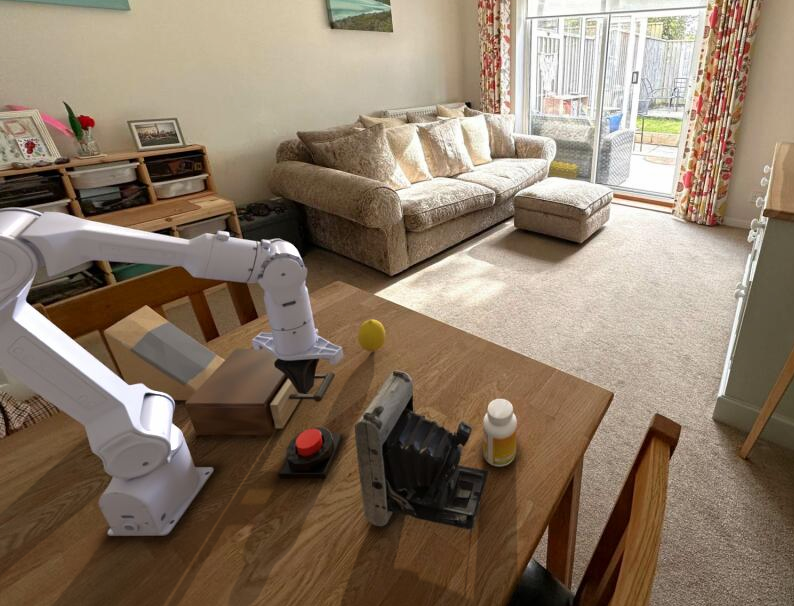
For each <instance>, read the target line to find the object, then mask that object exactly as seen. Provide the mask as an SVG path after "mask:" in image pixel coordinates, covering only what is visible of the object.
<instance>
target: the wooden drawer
mask: <svg viewBox="0 0 794 606" xmlns="http://www.w3.org/2000/svg"><path fill="white" fill-rule="evenodd" d="M335 376H336V375H335V372H333V371H328V372H327V373H315V377H314V380H315V379H317V380H318V379H319V380H320V379H322V382H321V384H320V385H319V387H318V389H317V391H316V393H315V394H312V393H309V394H308V393H307V394H301V393H298V391H297V390H296V388H295V387H294V385H293V384H292V382H291V381H290V380H289V378H288V377H287V376H285V378H284V379H283V381H282V382H281V384H280V385H279V387H278V388H277V389H276V391H275V392H274V394H273V395H272V397H271V398H270V399H269V401H268V402H267V406H268V410H269V414H270V418H271V421H272V419H274V423H275V427H276V429H284V427H285V426H286V424H287V422H288V421H289V419H290V417H291V415H292V414H293V412H294V411H295V409H296V407H297V406H298V404H299V402H300V401H301V400H314V401H315V402H317V403H319V402H322V401H323V398H324V397H325V395H326V393H327V391H328V390H329V388H330V385H331V383H332V382H333V380H334V379H335Z"/></svg>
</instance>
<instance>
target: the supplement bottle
mask: <svg viewBox="0 0 794 606" xmlns="http://www.w3.org/2000/svg"><path fill="white" fill-rule="evenodd" d="M517 427H518V421H517V416H516V415H515V414H514V407H513V405H512V403H511V402H510V401H509V400H508V399H505V398H496V399H493V400H492V401H490V402H489V403H488V406H487V412H486V413H485V415H484V417H483V420H482V451H483V452H482V454H483V457H484V459H485V461H486V462H487V463H488V464H490V466H494V467H498V468H499V467H505V466H508V465H510V464H511V463H512V462H513V461H514V460H515V457H516V454H517V433H518V432H517V431H518V428H517Z"/></svg>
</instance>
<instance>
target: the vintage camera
mask: <svg viewBox="0 0 794 606" xmlns="http://www.w3.org/2000/svg"><path fill="white" fill-rule="evenodd" d="M472 430H473V427H472V426H471V425H469V424H468V423H466V422H464V421H461V422H460V423H459V424H458V426H457V431H454V432H451V431H450V430H449V429H446V428H445V427H444V426H440V424H438V422H437V421H436V420H429V419H427V418H426V415H425V414H423V415H422V414H420V413H416V412H415V411H414V382H413V379H412V377H411V376H410V375H409V374H408V373H407V372H405V371H401V370H397V369H394V370H393V371H392V372H390V373H389V375H388V377H387V378H386V379H385V381H384V382H383V383H382V385H381V386H380V388H379V389H378V391H377V392H376V394H375V395H374V396H373V398H372V399H371V401H370V402H369V404H368V405H367V407H366V408H365V410H364V411H363V413H362V414H361V415H360V417H359V418H358V420H357V422H356V423H355V425H354V437H355V448H356V458H357V464H358V465H357V466H358V473H359V475H358V476H359V482H360V483H359V484H360V491H361V499H362V506H363V507H362V508H363V514H364V517H365V518H366V520H367V521H368V522H369V523H371V524H372V525H374V526H375V527H376V526H377V527H384V526H386V525H387V524H388V523H389V520H390V519H391V516H392V515H393V513H396V514H399V515H403V516H410V517H413V518H415V519H419V520H422V521H427V522H430V523H431V522H432V523H435V524H436V523H437V524H441V525H445V526H450V527H455V528H460V529H464V530H468V531H473V530H474V526H475V522H476V519H477V515H478V512H479V508H480V504H481V501H482V497H483V494H484V490H485V486H486V483H487V480H488V475H489V470H486V469H485V470H484V469H481V468H480V469H479V468H474V467H470V466H469V467H468V466H465V465H460V461H461V456H462V455H461V454H462V452H463V447H465V446H466V444H467V443H468V442H469V439H470V436H471V434H472Z"/></svg>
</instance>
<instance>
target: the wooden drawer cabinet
mask: <svg viewBox="0 0 794 606" xmlns="http://www.w3.org/2000/svg"><path fill="white" fill-rule="evenodd" d="M277 359H278V358H277V357H276V356H274V355H273V354H271V353H270V352H268V351H267V350H266V349H264V348H262V349H261V350H254V347H253V348H252V347H251V348H250V347H247V348H246V347H245V348H243V347H241V348H240V347H237V348H235V349H234V350H233V351H232V352H231V353H230V354H229V355H228V356H227V358H225V359H224V360H225V361H224V362H223V363H222V364H221V365H220V366H219V367H218V368H217V369H216V370H215V372H214V373H213V374H212V375H211V376H210V377H209V378H208V379H207V380H206V381H205V382H204V383H203V384H202V385H201V387H200V388H199V389H198V390H197V391H196V392H195V393H194V394H193V395H192V396H191V397H190V398H189V399H188V400H185V403H184V405H185V408H186V410H187V413H188V416H189V419H190V422H191V424H192V428H193V430H194V432H195V436H272V435H273V434H274V432H275V431H276V430H277V428H276V427H275V423H274V419H272V421H271V418H270V414H269V410H268V406H267V402H268V401H269V399H270V398H271V397H272V395H273V394H274V392H275V391H276V389H277V388H278V387H279V385H280V384H281V382H282V381H283V379H284V378H285V376H286V375H285V374H284V373H283V372H281V371H280V370H279V369H277V368H276V367H275V365H274V362H275V361H276V360H277Z"/></svg>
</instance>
